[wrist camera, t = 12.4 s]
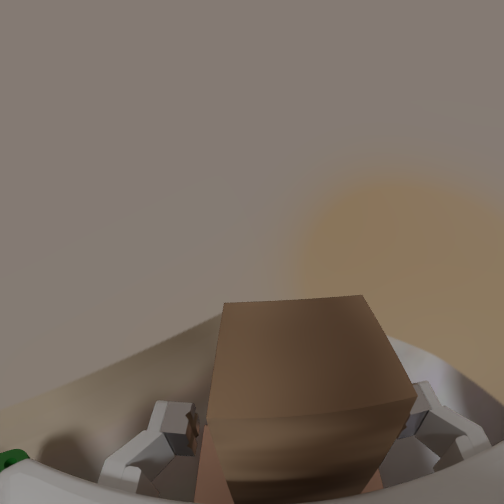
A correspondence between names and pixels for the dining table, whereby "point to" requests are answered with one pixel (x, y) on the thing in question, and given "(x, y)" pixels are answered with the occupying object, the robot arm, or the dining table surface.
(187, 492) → the dining table surface
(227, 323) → the walnut block
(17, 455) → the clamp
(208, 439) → the coaster
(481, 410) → the dining table surface
